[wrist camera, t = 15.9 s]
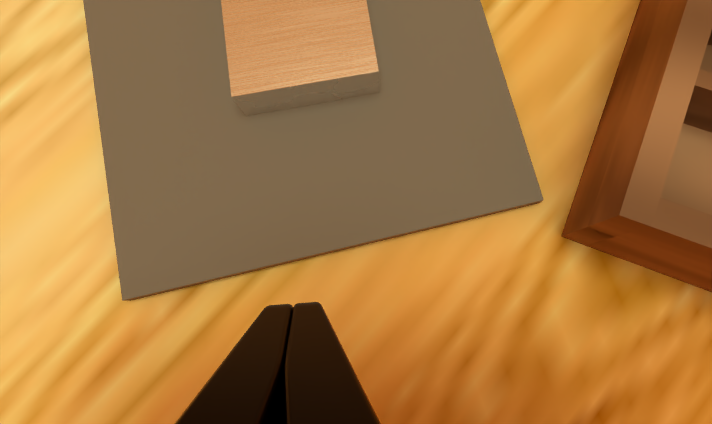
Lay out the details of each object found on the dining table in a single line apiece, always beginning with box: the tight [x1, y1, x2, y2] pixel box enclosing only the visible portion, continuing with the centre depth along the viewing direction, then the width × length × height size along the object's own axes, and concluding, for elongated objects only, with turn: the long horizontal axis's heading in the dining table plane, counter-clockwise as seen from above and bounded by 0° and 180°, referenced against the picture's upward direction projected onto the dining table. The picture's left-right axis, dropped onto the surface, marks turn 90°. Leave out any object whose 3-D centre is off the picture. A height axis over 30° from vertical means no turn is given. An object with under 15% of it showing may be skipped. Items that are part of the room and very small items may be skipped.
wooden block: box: [221, 0, 380, 116], centre depth 21 cm, size 2×6×9 cm
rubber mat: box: [83, 0, 543, 301], centre depth 22 cm, size 18×18×1 cm
